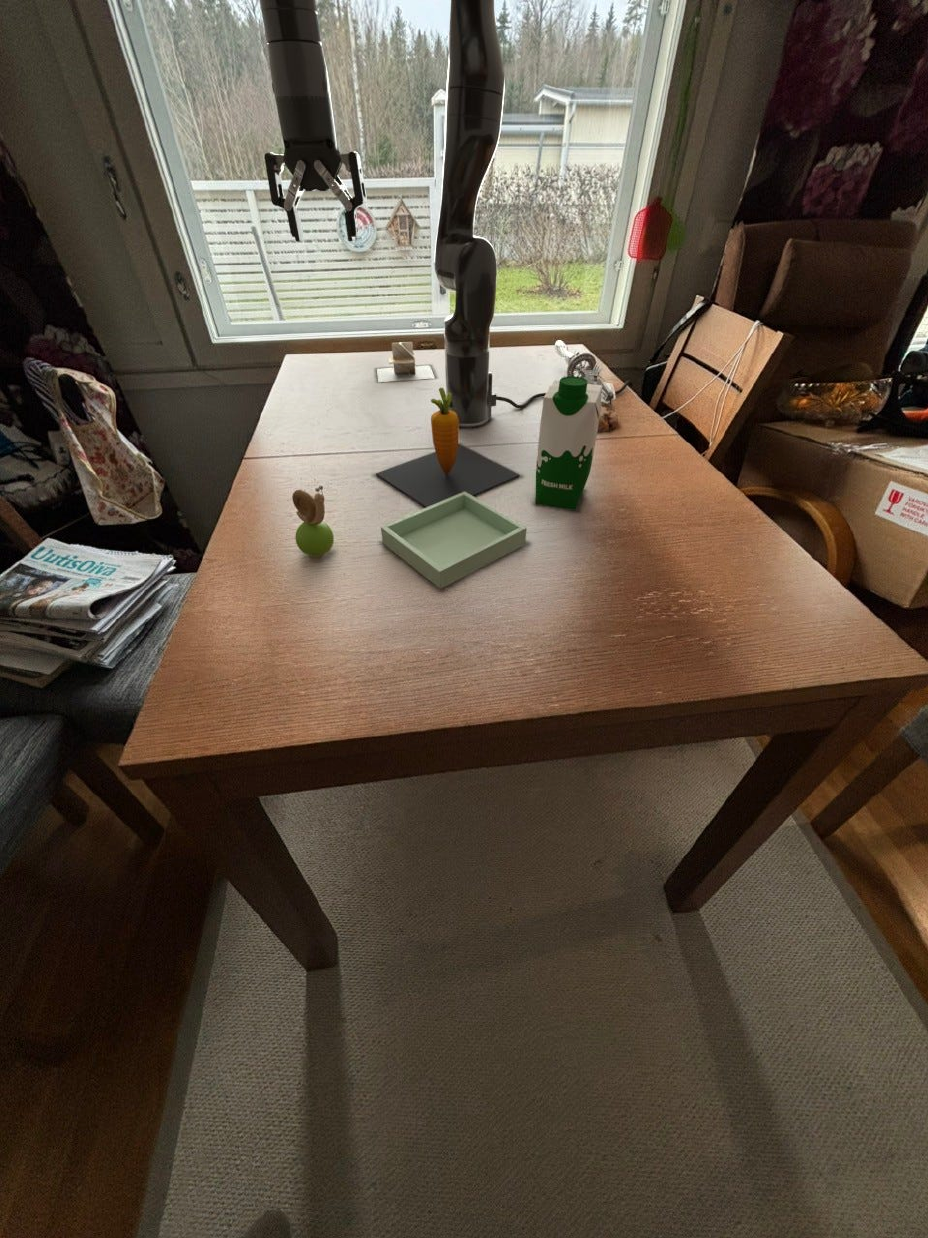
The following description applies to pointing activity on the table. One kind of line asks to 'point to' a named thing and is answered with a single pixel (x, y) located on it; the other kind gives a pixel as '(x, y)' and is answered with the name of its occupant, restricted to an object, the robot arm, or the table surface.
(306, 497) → the snail figurine
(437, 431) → the carrot
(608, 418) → the cookie
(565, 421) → the milk carton
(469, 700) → the table surface
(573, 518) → the table surface
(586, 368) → the spaceship
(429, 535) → the tray
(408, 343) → the architectural model
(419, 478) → the mat
